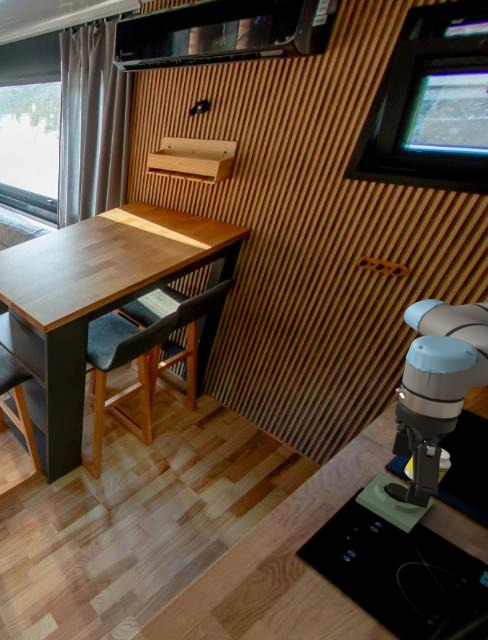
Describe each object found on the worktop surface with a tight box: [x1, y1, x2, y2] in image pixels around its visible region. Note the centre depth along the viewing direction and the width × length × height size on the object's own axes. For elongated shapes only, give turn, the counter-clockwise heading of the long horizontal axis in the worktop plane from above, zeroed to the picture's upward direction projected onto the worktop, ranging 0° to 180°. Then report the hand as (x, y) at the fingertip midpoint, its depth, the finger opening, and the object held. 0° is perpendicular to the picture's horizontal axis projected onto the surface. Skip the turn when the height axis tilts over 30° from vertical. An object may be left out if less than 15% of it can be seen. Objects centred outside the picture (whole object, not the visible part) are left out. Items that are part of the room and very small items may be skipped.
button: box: [385, 483, 408, 503], centre depth 87 cm, size 4×4×2 cm
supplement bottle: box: [404, 448, 452, 483], centre depth 91 cm, size 6×6×10 cm
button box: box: [354, 472, 435, 534], centre depth 88 cm, size 12×9×4 cm
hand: (407, 478), depth 80 cm, fingers open, 13 cm apart
